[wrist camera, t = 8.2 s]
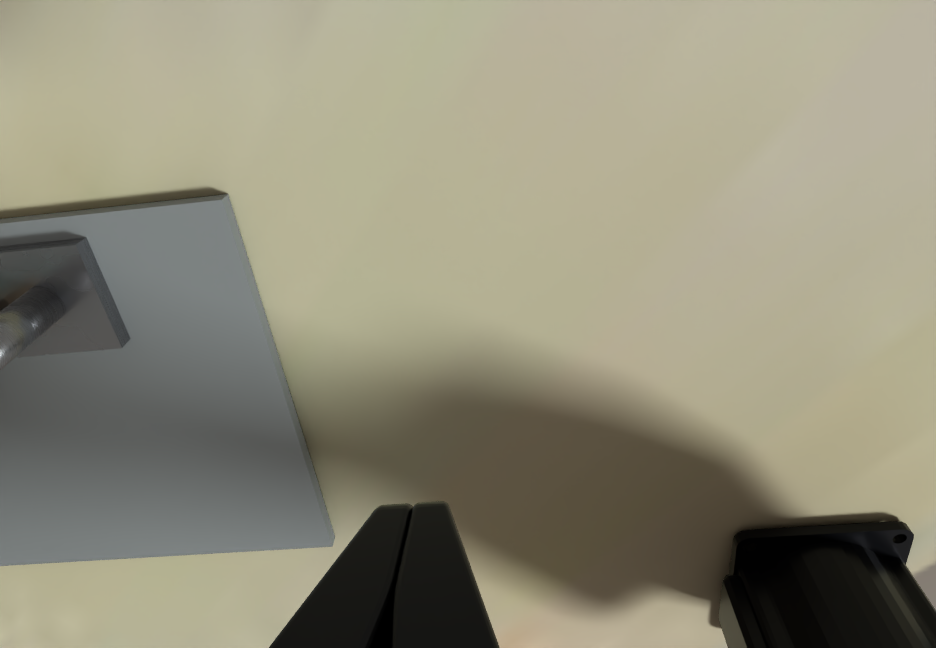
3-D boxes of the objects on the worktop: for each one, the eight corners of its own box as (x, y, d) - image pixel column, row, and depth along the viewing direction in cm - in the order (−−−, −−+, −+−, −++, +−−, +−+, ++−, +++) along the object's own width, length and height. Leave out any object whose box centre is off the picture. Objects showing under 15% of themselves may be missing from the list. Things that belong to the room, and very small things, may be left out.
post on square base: (86, 237, 20) (5, 295, 17) (130, 338, 22) (65, 409, 18) (-24, 248, 20) (-125, 307, 17) (29, 347, 22) (-54, 419, 19)
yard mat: (228, 194, 20) (221, 199, 19) (335, 536, 27) (332, 546, 26) (-211, 241, 21) (-226, 248, 20) (3, 556, 28) (-5, 566, 28)
